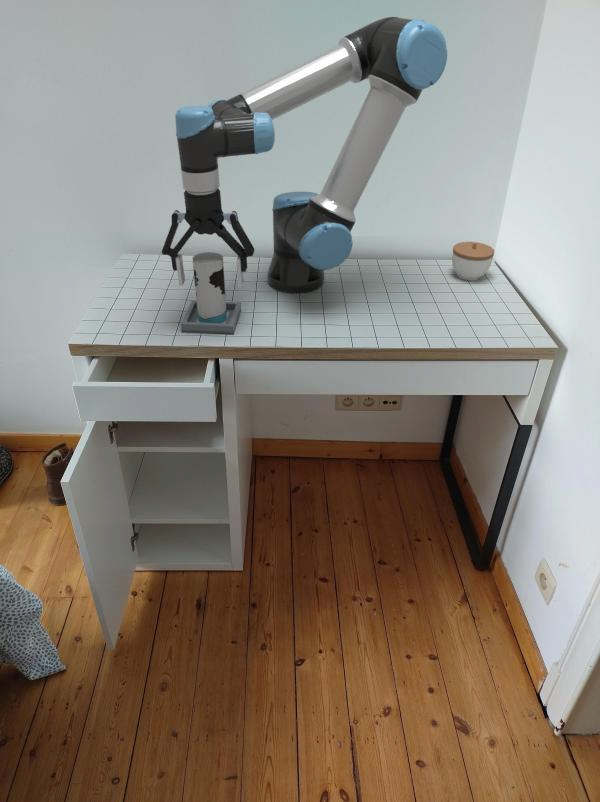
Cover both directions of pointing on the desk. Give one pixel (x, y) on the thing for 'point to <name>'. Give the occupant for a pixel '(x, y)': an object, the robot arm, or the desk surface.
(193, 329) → the tray
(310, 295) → the desk surface
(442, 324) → the desk surface
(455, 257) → the lidded jar
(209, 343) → the desk surface
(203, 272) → the cup
